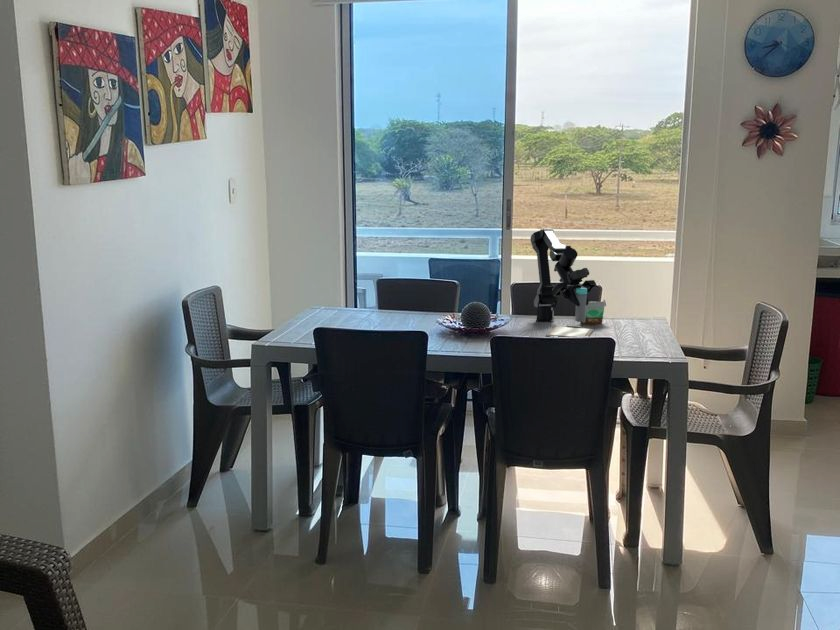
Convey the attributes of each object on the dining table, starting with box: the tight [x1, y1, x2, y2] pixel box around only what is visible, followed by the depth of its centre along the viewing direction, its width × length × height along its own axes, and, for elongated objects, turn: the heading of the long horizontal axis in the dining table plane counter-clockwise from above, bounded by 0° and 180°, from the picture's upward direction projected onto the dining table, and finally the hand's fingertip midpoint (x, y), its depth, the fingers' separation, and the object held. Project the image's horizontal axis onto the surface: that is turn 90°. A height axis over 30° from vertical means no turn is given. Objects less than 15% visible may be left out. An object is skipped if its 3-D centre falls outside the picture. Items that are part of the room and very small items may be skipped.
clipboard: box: [545, 324, 595, 337], centre depth 329 cm, size 16×19×1 cm
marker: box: [574, 288, 588, 323], centre depth 321 cm, size 4×4×13 cm
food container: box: [579, 299, 607, 326], centre depth 346 cm, size 12×6×10 cm, turn 101°
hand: (583, 305), depth 319 cm, fingers closed on marker, 4 cm apart
